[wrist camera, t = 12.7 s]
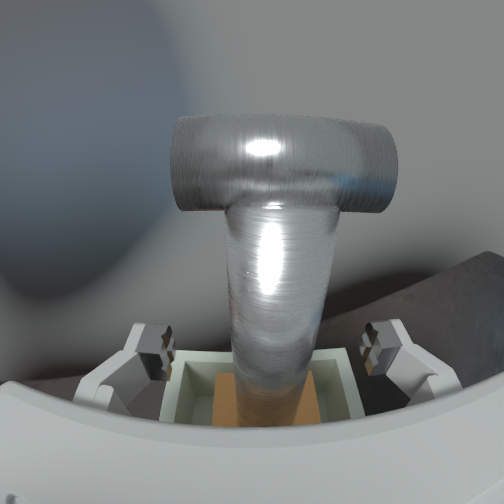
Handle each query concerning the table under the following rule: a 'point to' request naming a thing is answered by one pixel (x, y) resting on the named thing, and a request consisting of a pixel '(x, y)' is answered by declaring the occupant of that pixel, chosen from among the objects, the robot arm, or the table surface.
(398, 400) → the table surface
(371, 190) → the strut
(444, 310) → the table surface
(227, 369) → the bin
